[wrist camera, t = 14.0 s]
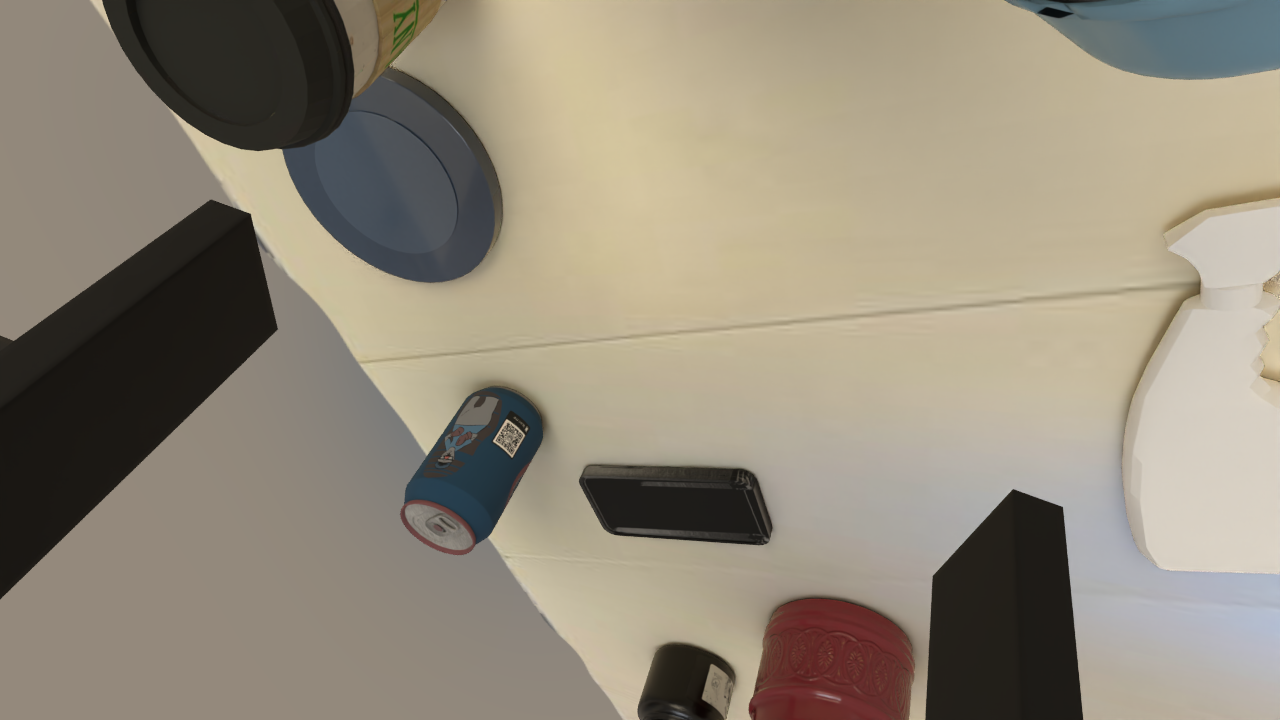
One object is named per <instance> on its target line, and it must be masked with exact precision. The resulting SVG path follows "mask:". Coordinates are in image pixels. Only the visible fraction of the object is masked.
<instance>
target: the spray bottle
mask: <svg viewBox="0 0 1280 720" xmlns="http://www.w3.org/2000/svg"><path fill="white" fill-rule="evenodd" d="M1164 240H1165V243H1166V246H1167V249H1168V250H1169V251H1171V252H1173V253H1175V254H1177V255H1179V256H1181V257H1183V258H1185V259H1187V260H1188V261H1189V262H1190V263H1191V264H1192V265H1193V266H1194V267H1195V268H1196V269H1197V270H1198V271H1199V274H1200V277H1201V289H1200V294H1199V295H1196V296H1193V297H1190V298H1188V299H1186V300H1185V301H1184V302H1183V303H1182V305H1181V307H1180V308H1179V310H1178V312H1177V314H1176V315H1175V317H1174V319H1173V321H1172V322H1171V324H1170V326H1169V328H1168V329H1167V331H1166V333H1165V335H1164V336H1163V338H1162V340H1161V341H1160V343H1159V345H1158V347H1157V348H1156V350H1155V352H1154V354H1153V355H1152V357H1151V359H1150V361H1149V362H1148V364H1147V366H1146V368H1145V371H1144V373H1143V375H1142V378H1141V380H1140V382H1139V384H1138V387H1137V389H1136V391H1135V394H1134V396H1133V398H1132V402H1131V406H1130V409H1129V413H1128V418H1127V423H1126V428H1125V435H1124V444H1123V456H1122V467H1121V469H1122V478H1123V487H1124V496H1125V505H1126V514H1127V518H1128V521H1129V525H1130V528H1131V532H1132V536H1133V539H1134V541H1135V543H1136V546H1137V548H1138V550H1139V552H1141V553H1142V554H1143V555H1144V556H1145V557H1146V558H1147V559H1148V560H1150V561H1151V562H1152V563H1153V564H1155V565H1156V566H1157V567H1159V568H1162V569H1165V570H1169V571H1198V572H1230V573H1262V574H1280V382H1278V381H1274V380H1270V379H1266V378H1262V377H1261V376H1260V374H1261V372H1262V370H1263V368H1264V367H1265V365H1264V363H1263V361H1262V359H1261V357H1260V355H1261V353H1262V351H1263V350H1264V348H1265V346H1266V345H1267V343H1268V342H1269V338H1268V336H1267V334H1266V332H1265V330H1264V328H1263V326H1264V325H1265V324H1266V323H1267V322H1268V321H1270V320H1271V319H1272V318H1273V317H1274V316H1275V314H1276V313H1277V312H1278V310H1279V309H1280V300H1279V299H1278V298H1277V297H1276V296H1275V295H1274V294H1272V293H1269V292H1265V291H1263V283H1264V282H1267V281H1268V280H1269V279H1270V278H1272V277H1273V276H1274V275H1275V274H1277V273H1278V272H1279V271H1280V198H1274V199H1268V200H1262V201H1256V202H1250V203H1244V204H1238V205H1232V206H1226V207H1220V208H1214V209H1208V210H1204V211H1202V212H1200V213H1198V214H1197V215H1195V216H1193V217H1191V218H1190V219H1188V220H1186V221H1184V222H1183V223H1181V224H1179V225H1177V226H1176V227H1174V228H1172V229H1170V230H1169V231H1167V232H1165V233H1164Z"/></svg>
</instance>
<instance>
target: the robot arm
mask: <svg viewBox="0 0 1280 720" xmlns="http://www.w3.org/2000/svg"><path fill="white" fill-rule="evenodd" d="M1005 1H1007V2H1008V3H1010V4H1012V5H1014V6H1017V7H1020V8H1022V9H1025V10H1028V11H1031V12H1034V13H1035V14H1036V15H1038V16H1039V17H1040V18H1042V19H1043V20H1044V21H1046V22H1047V23H1048V24H1050V25H1051V26H1052V27H1054V28H1055V29H1056V30H1058V31H1059V32H1060V33H1061V34H1063V35H1064V36H1065V37H1067V38H1068V39H1069V40H1071V41H1072V42H1073V43H1075V44H1076V45H1077V46H1079V47H1080V48H1081V49H1083V50H1084V51H1085V52H1087V53H1088V54H1090V55H1091V56H1093V57H1095V58H1096V59H1098V60H1100V61H1101V62H1103V63H1106V64H1108V65H1110V66H1112V67H1115V68H1118V69H1120V70H1123V71H1126V72H1130V73H1134V74H1138V75H1143V76H1149V77H1157V78H1166V79H1183V80H1196V79H1216V78H1226V77H1235V76H1241V75H1246V74H1252V73H1258V72H1264V71H1270V70H1276V69H1280V0H1005ZM277 329H278V328H277V324H276V319H275V315H274V311H273V307H272V303H271V298H270V294H269V290H268V286H267V281H266V278H265V273H264V269H263V264H262V260H261V256H260V252H259V247H258V243H257V239H256V235H255V231H254V226H253V222H252V218H251V214H250V213H247V212H244V211H241V210H238V209H236V208H233V207H230V206H227V205H224V204H222V203H219V202H216V201H213V200H210V201H208V202H207V203H205V204H204V205H203V206H201V207H200V208H198V209H197V210H196V211H194V212H193V213H191V214H190V215H189V216H187V217H186V218H184V219H183V220H182V221H180V222H179V223H178V224H176V225H175V226H173V227H172V228H171V229H169V230H168V231H167V232H165V233H164V234H162V235H161V236H159V237H158V238H157V239H155V240H154V241H152V242H151V243H150V244H148V245H147V246H146V247H144V248H143V249H141V250H140V251H139V252H137V253H136V254H134V255H133V256H132V257H130V258H129V259H128V260H126V261H125V262H123V263H122V264H121V265H119V266H118V267H116V268H115V269H114V270H112V271H111V272H109V273H108V274H107V275H105V276H104V277H102V278H101V279H100V280H98V281H97V282H96V283H94V284H93V285H91V286H90V287H89V288H87V289H86V290H85V291H83V292H82V293H80V294H79V295H78V296H76V297H75V298H73V299H72V300H70V301H69V302H68V303H66V304H65V305H64V306H62V307H61V308H59V309H58V310H57V311H55V312H54V313H52V314H51V315H50V316H48V317H47V318H46V319H44V320H43V321H41V322H40V323H38V324H37V325H36V326H34V327H33V328H32V329H30V330H29V331H28V332H26V333H25V334H23V335H22V336H20V337H19V338H18V339H17V340H15V341H12V340H10V339H7V338H5V337H2V336H0V599H1V598H2V597H3V596H4V595H5V594H6V593H7V592H8V591H9V590H10V589H11V588H12V587H13V586H14V585H15V584H16V583H17V582H18V581H19V580H21V579H22V578H23V577H24V576H25V575H26V574H27V573H28V572H29V571H30V570H31V569H32V568H33V567H34V566H35V565H36V564H37V563H38V562H39V561H40V560H41V559H42V558H43V557H44V556H45V555H46V554H47V553H48V552H49V551H50V550H51V549H52V548H53V547H54V546H55V545H57V543H59V541H61V540H62V539H63V538H64V537H65V536H66V535H67V534H68V533H69V532H70V531H71V530H72V529H73V528H74V527H75V526H76V525H77V524H78V523H79V522H80V521H81V520H82V519H83V518H84V517H85V516H86V515H87V514H88V513H89V512H90V511H91V510H92V509H93V508H95V506H97V505H98V504H99V503H100V502H101V501H102V500H103V499H104V498H105V497H106V496H107V495H108V494H109V493H110V492H111V491H112V490H113V489H114V488H115V487H116V486H117V485H118V484H119V483H120V482H121V481H122V480H123V479H124V478H125V477H126V476H127V475H128V474H130V473H131V472H132V471H133V470H134V469H135V468H136V467H137V466H138V465H139V464H140V463H141V462H142V461H143V460H144V459H145V458H146V457H147V456H148V455H149V454H150V453H151V452H152V451H153V450H154V449H155V448H156V447H157V446H158V445H159V444H160V443H161V442H162V441H163V440H164V439H165V438H166V437H167V436H168V435H170V434H171V433H172V432H173V431H174V430H175V429H176V428H177V427H178V426H179V425H180V424H181V423H182V422H183V421H184V420H185V419H186V418H187V417H188V416H189V415H190V414H191V413H192V412H193V411H194V410H195V409H196V408H197V407H198V406H199V405H201V404H202V402H204V401H205V399H207V398H208V397H209V396H210V395H211V394H212V393H213V392H214V391H215V390H216V389H217V388H218V387H219V386H220V385H221V384H222V383H223V382H224V381H225V380H226V379H227V378H228V377H229V376H230V375H231V374H232V373H233V372H234V371H235V370H237V368H239V367H240V366H241V365H242V364H243V363H244V362H245V361H246V360H247V358H249V357H250V356H251V355H252V354H253V353H254V352H255V351H256V350H257V349H258V348H259V347H260V346H261V345H262V344H263V343H264V342H265V341H266V340H267V339H268V338H269V337H270V336H271V335H273V333H275V331H276V330H277ZM925 720H1083V713H1082V702H1081V692H1080V681H1079V671H1078V660H1077V650H1076V639H1075V629H1074V618H1073V608H1072V597H1071V587H1070V576H1069V566H1068V555H1067V545H1066V535H1065V524H1064V514H1063V507H1061V506H1058V505H1055V504H1053V503H1050V502H1047V501H1044V500H1042V499H1039V498H1036V497H1033V496H1030V495H1028V494H1025V493H1022V492H1019V491H1017V490H1014V489H1013V490H1012V491H1011V492H1010V493H1009V494H1008V495H1007V496H1006V497H1005V498H1004V500H1003V501H1002V502H1001V503H1000V504H999V505H998V506H997V507H996V508H995V509H994V510H993V511H992V513H991V514H990V515H989V516H988V517H987V518H986V519H985V520H984V521H983V522H982V523H981V524H980V526H979V527H978V528H977V529H976V530H975V531H974V532H973V533H972V534H971V535H970V536H969V537H968V539H967V540H966V541H965V542H964V543H963V544H962V545H961V546H960V547H959V548H958V549H957V550H956V552H955V553H954V554H953V555H952V556H951V557H950V558H949V559H948V560H947V561H946V562H945V563H944V565H943V566H942V567H941V568H940V569H939V570H938V571H937V572H936V573H935V574H934V575H933V582H932V602H931V621H930V641H929V660H928V680H927V699H926V719H925Z"/></svg>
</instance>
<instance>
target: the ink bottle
mask: <svg viewBox="0 0 1280 720" xmlns="http://www.w3.org/2000/svg"><path fill="white" fill-rule="evenodd" d="M734 683H735V679H734V675H733V672H732V670H731V669H730V668H729V666H728V665H727V664H726V663H724V662H723V661H722V660H720V659H719V658H717V657H715V656H713V655H711V654H709V653H707V652H704V651H702V650H699V649H696V648H692V647H688V646H683V645H667V646H664V647H662V648H660V649H659V650H658V651H657V652H656V653H655V655H654V658H653V661H652V664H651V667H650V670H649V673H648V676H647V680H646V683H645V686H644V689H643V692H642V695H641V698H640V701H639V705H638V717H639V719H640V720H726V718H727V714H728V709H729V705H730V701H731V697H732V692H733V688H734Z"/></svg>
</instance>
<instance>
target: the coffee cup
mask: <svg viewBox="0 0 1280 720" xmlns="http://www.w3.org/2000/svg"><path fill="white" fill-rule="evenodd" d="M102 1H103V5H104V8H105V11H106V14H107V17H108V19H109V22H110V25H111V28H112V30H113V32H114V33H115V35H116V37H117V39H118V41H119V43H120V45H121V47H122V49H123V51H124V52H125V54H126V56H127V57H128V59H129V60H130V62H131V63H132V65H133V66H134V68H135V69H136V71H137V72H138V73H139V74H140V76H141V77H142V78H143V80H144V81H145V82H146V83H147V85H148V86H149V87H150V88H151V90H152V91H153V92H154V93H155V94H156V95H157V96H158V97H159V98H160V99H161V100H162V101H163V102H164V103H165V104H166V105H167V106H168V107H169V108H170V109H171V110H173V111H174V112H175V113H176V114H177V115H179V116H180V117H181V118H182V119H183V120H185V121H186V122H187V123H188V124H190V125H192V126H193V127H195V128H196V129H198V130H199V131H201V132H202V133H204V134H205V135H207V136H209V137H211V138H213V139H215V140H217V141H220V142H222V143H224V144H227V145H230V146H233V147H236V148H240V149H245V150H254V151H263V150H271V149H291V148H299V147H305V146H307V145H310V144H312V143H315V142H317V141H320V140H322V139H324V138H327V137H328V136H329V135H330V134H332V133H333V132H334V131H335V130H336V129H337V128H338V127H340V125H341V123H342V122H343V120H344V118H345V117H346V115H347V113H348V112H349V108H350V104H351V101H352V99H354V98H356V97H358V96H359V95H360V94H361V93H363V92H364V91H365V90H366V89H367V88H368V87H369V86H370V85H371V84H372V83H373V82H374V81H375V80H376V79H377V78H378V77H379V76H380V75H381V74H382V73H383V72H384V70H385V69H386V68H387V67H388V66H389V65H390V64H391V63H392V62H393V61H394V60H395V59H396V58H397V57H398V56H399V55H400V54H401V53H402V52H403V50H404V49H405V48H406V47H407V46H408V45H409V44H410V43H411V42H412V41H413V40H414V39H415V38H416V37H417V36H418V35H419V34H420V33H421V31H422V30H423V29H424V28H425V27H426V26H427V25H428V24H429V23H430V22H431V21H432V19H433V18H434V16H435V15H436V13H437V12H438V9H439V8H440V7H441V6H442V5H443V4H444V3H445V2H446V1H447V0H102Z"/></svg>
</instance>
